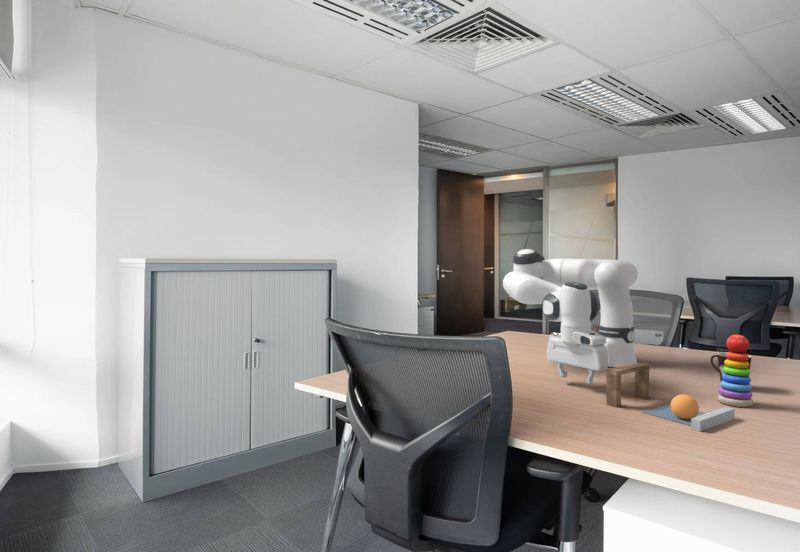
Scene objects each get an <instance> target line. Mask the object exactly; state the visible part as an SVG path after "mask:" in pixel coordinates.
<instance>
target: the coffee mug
mask: <svg viewBox="0 0 800 552" xmlns="http://www.w3.org/2000/svg"><path fill="white" fill-rule="evenodd" d="M726 353H727V352H725V351H724V352H723V351H722V352H717V353H716V355H715V354H713V355H712V356H710V364H711V366H712V367H713V368H714V369H715V370H716V372H718V373H719V380H720V382H721V381H722V380H723V379H722V375H723V374H724V373H725V372H724V371H723V369H724V367H725V366H726V365H725V364H724V361H725V360H726V359H728V358H727V357H726ZM747 355H748V356H749V358H748V360H747V362H748V363H749V367H748V369H749V370H750V368H751V362H752V355H749V354H747ZM714 358H717V364H718V365H717V366H718V368H717V367H716V365H715V363H714ZM750 371H751V370H750Z"/></svg>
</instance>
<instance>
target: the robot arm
mask: <svg viewBox="0 0 800 552" xmlns="http://www.w3.org/2000/svg"><path fill="white" fill-rule="evenodd" d="M545 259H546V258H545V257H544V256H543V255H542V254H540V253H539V252H538V251H536V250H535V249H531V248H523V249H521V250H517V251H516V252H515V253H514V254H513V258H512V263H513V267H512V269H513V271H510V272H508V273H506V275H504V277H503V280H502V287H503V289H504V291H505V292H506V294H507V295H509V296H510V297H511V298H512V299H514V300H515V301H516V302H518V303H521V304H524V305H541V311H542V314H543V315H544V317H545V318H546V319H547V320H548V321H552V322H560V332H556V331H555V332H551V333H550V334H549V335H548V343H547V350H546V357H547V360H548V362H549V361H550V362H555V363H556V367H557V369H558V371H559V377H561V378H568V371H567V370H565V365H567V366H573V367H578V368H582V369H587V373H589V374H588V375H587V376H585V377H584V382H585V384H588V385H592V384H593V383H594V377H595V376H596V374H597V372H603V371H606V369H608V367H609V368H615V367H620V366H624V365H629V364H634V363H638V361H637V358H636V357H637V356H636V352H635V346H634V340H635V327H634V305H633V302H632V299H631V294H630V287H632V285H634V283H635V282H636V281H637V279H638V274H639V273H638V272H639V271H638V269H637V267H636V266H635V264H633V263H632V262H631V261H629V260H626V259H607V258H606V259H602V258H601V259H600V258H568V257H567V258H566V257H565V258H563V257H562V258H551V259H546V260H545ZM590 288H597V293H598V296H597V295H596V294H595V293H594V292H593V291H591V290H590ZM599 313H600V325H598V326H595V327H594V329H592V323H591V322H592V321H594V319H595V318H597V316H598V314H599Z"/></svg>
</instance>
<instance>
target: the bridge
mask: <svg viewBox="0 0 800 552" xmlns="http://www.w3.org/2000/svg"><path fill="white" fill-rule="evenodd" d="M605 371H606V372H605V373H606V383H605V384H606V390H605V391H606V394H605V395H606V397H605V398H606V405H608V406H610V407H614V408H618V407H619V408H620V407H622V375H626V374H630V373H634V397H635V398H638V399H641V400H648V399H650V364H649V363H645V362H637V363H634V364H629V365H624V366H620V367H609V368H607V369H606V370H605Z"/></svg>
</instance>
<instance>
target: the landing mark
mask: <svg viewBox="0 0 800 552" xmlns="http://www.w3.org/2000/svg"><path fill="white" fill-rule="evenodd" d="M642 413H643V414H646V415H648V416H649V415H650V416H653V417H656V418H660V419H663V420H667V421H671V422H674V423H679V424H683V425H686V426H689V427H691V419H689V420H685V419H681V418H678V417H677V416H676V415H675V414H674V413H673V412H672V410H671V403H669V404H666V405H662V406H659V407H655V408H652V409H648V410H644V411H642ZM703 414H706V412H701V411H699V412H698V414H697V415H696V416H695V417H697V416H700V415H703Z"/></svg>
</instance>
